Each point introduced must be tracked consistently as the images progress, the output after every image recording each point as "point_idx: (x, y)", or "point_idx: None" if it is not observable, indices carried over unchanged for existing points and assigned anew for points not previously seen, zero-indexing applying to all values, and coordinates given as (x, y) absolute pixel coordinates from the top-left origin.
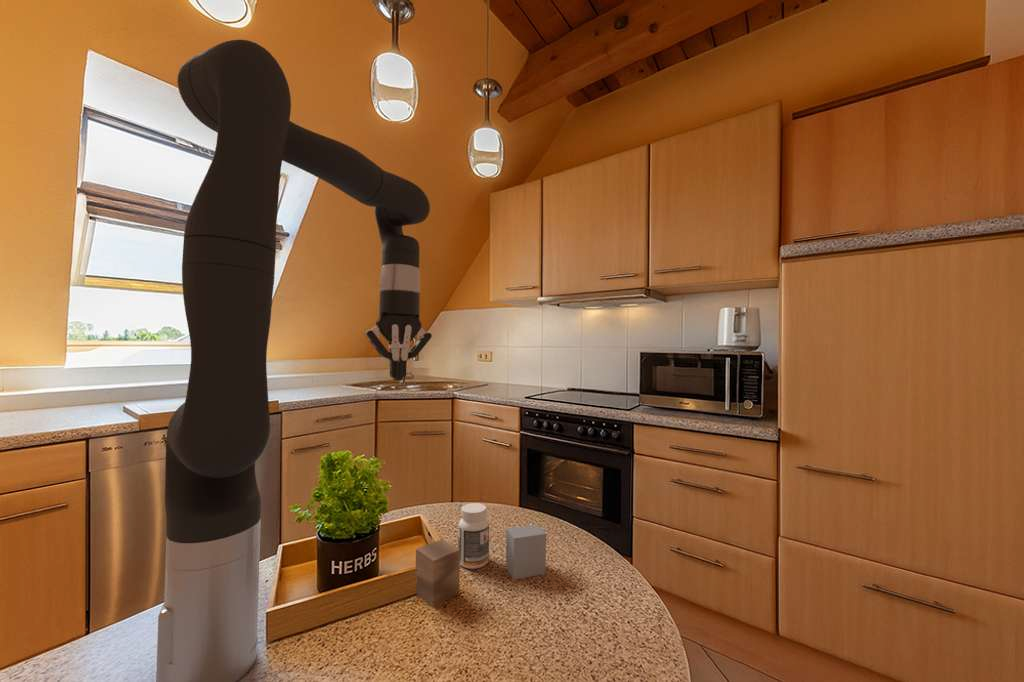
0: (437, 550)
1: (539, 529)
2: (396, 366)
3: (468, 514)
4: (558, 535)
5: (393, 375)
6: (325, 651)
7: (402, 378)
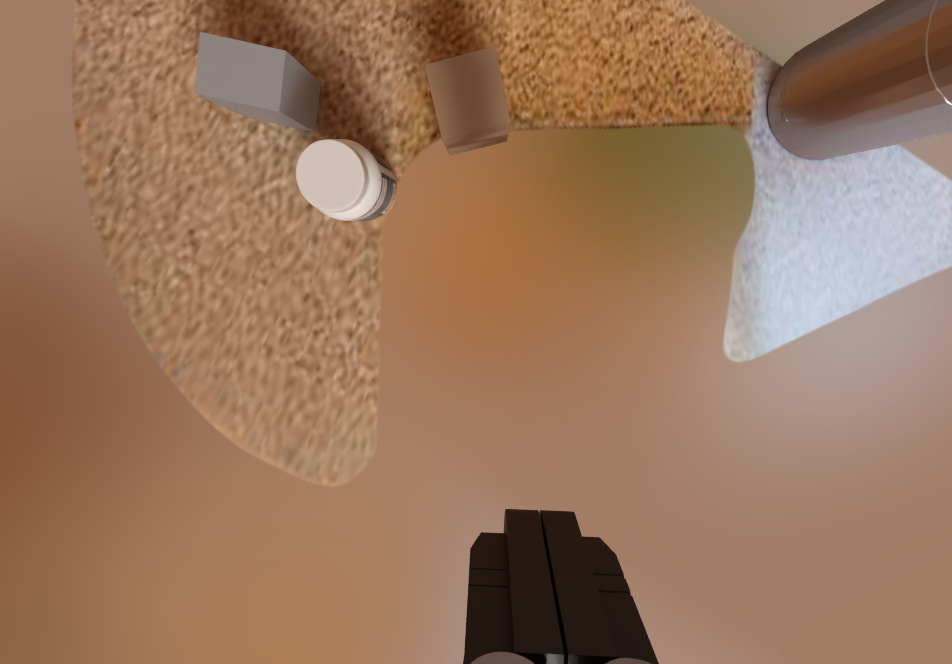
0: (470, 89)
1: (204, 62)
2: (593, 601)
3: (356, 153)
4: (140, 197)
5: (594, 550)
6: (678, 55)
7: (511, 509)
